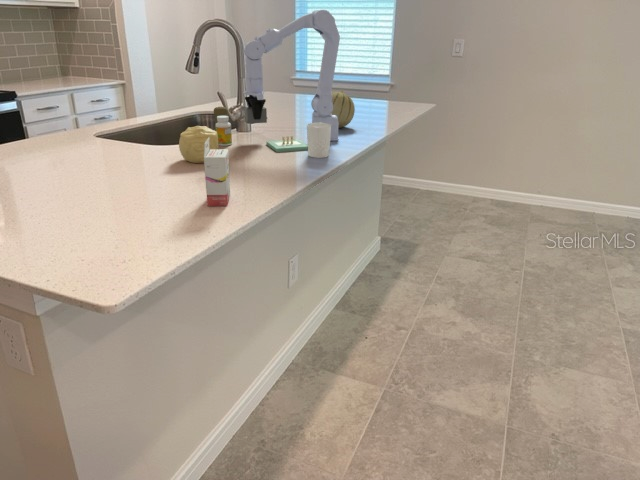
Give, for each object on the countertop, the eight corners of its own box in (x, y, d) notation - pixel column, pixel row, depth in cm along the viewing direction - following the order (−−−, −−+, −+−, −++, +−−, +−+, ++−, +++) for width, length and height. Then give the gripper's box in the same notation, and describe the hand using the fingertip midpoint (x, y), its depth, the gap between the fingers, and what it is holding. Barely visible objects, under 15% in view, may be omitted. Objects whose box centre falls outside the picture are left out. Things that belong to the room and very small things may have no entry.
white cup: (333, 154, 165) (334, 123, 161) (326, 159, 158) (326, 128, 154) (311, 151, 167) (311, 122, 163) (303, 157, 160) (303, 126, 156)
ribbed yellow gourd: (313, 129, 204) (313, 91, 198) (326, 123, 216) (327, 87, 210) (347, 132, 199) (348, 93, 193) (358, 126, 211) (360, 89, 205)
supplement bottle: (213, 144, 175) (211, 116, 171) (225, 142, 179) (224, 114, 175) (222, 146, 172) (221, 118, 168) (235, 144, 175) (233, 116, 172)
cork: (226, 138, 184) (225, 108, 179) (211, 137, 185) (209, 107, 180) (232, 135, 189) (231, 106, 185) (217, 134, 190) (215, 105, 186)
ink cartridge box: (228, 206, 116) (224, 144, 110) (206, 206, 115) (202, 144, 110) (231, 195, 124) (228, 136, 118) (211, 195, 123) (206, 136, 117)
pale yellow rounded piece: (185, 167, 147) (182, 130, 143) (176, 158, 157) (173, 123, 152) (223, 163, 152) (221, 127, 147) (212, 154, 161) (209, 121, 157)
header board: (298, 142, 180) (298, 132, 179) (310, 149, 170) (310, 138, 169) (266, 144, 176) (266, 134, 175) (276, 152, 166) (276, 141, 164)
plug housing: (263, 120, 180) (263, 106, 179) (266, 122, 177) (266, 108, 175) (244, 121, 178) (244, 107, 176) (247, 123, 175) (247, 109, 173)
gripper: (238, 76, 176) (239, 115, 182) (248, 80, 164) (250, 122, 169) (257, 76, 179) (258, 114, 184) (268, 80, 167) (269, 121, 172)
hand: (255, 118), depth 177 cm, fingers closed on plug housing, 4 cm apart
